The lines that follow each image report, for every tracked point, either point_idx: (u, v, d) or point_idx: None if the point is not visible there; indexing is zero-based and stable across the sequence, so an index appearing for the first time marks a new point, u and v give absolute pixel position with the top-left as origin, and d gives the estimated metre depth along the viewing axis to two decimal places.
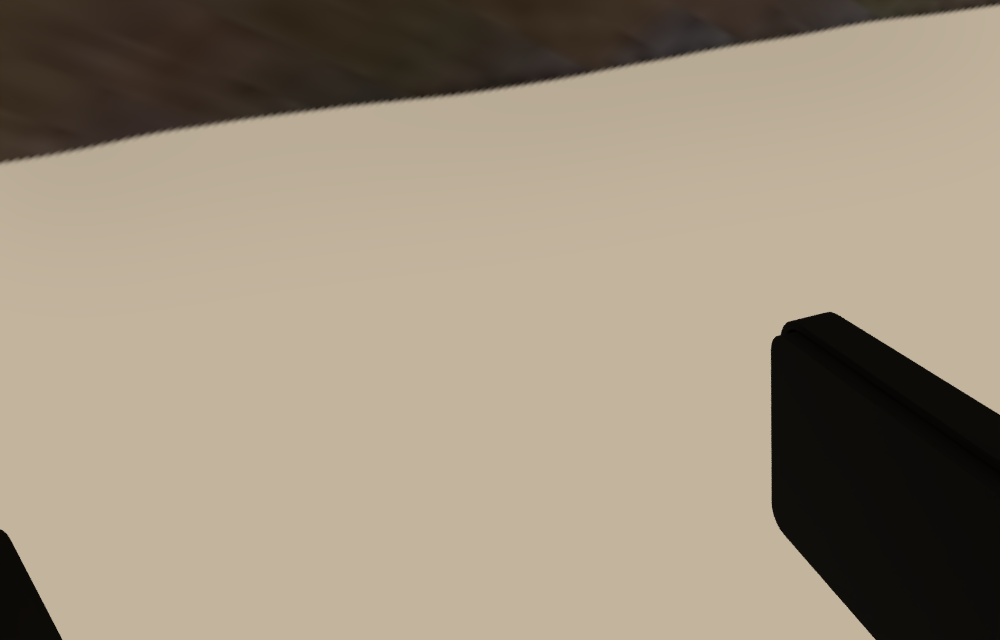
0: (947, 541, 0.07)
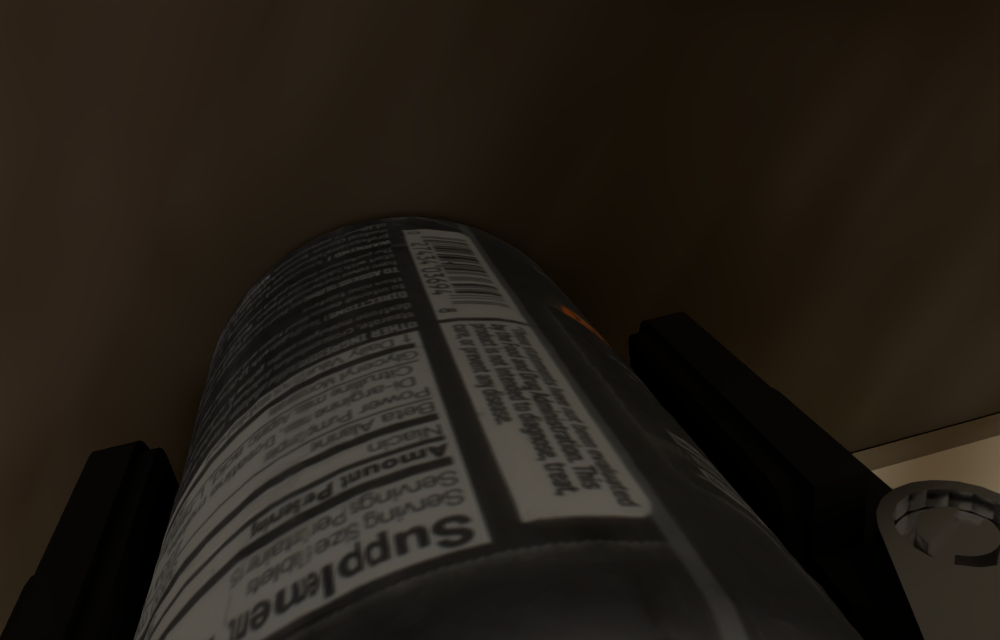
0: None
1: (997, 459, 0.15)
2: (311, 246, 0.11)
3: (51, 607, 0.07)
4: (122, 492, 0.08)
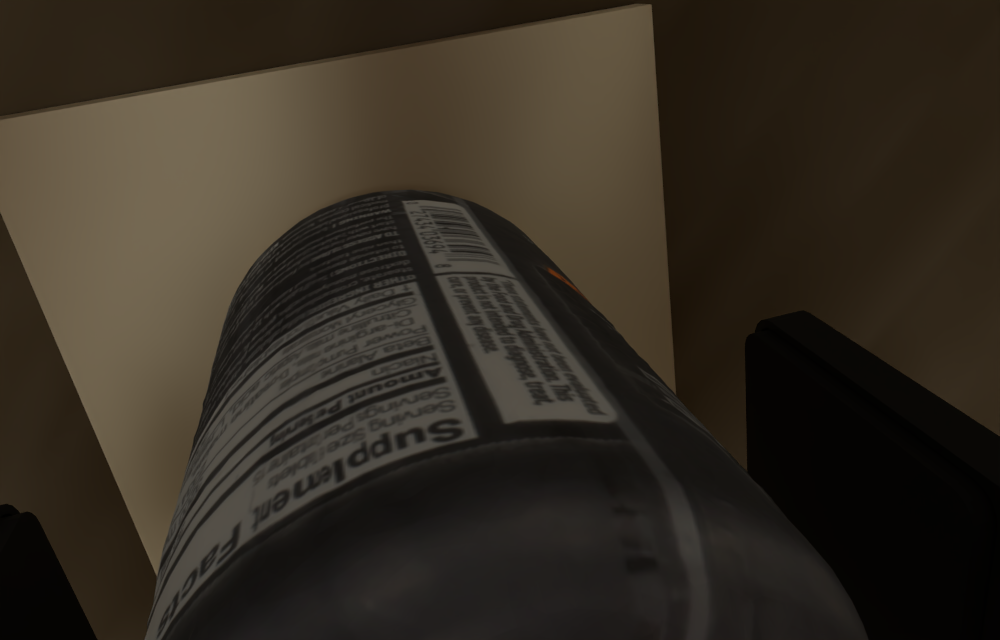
0: (909, 535, 0.07)
1: (494, 72, 0.12)
2: (317, 216, 0.12)
3: None
4: None
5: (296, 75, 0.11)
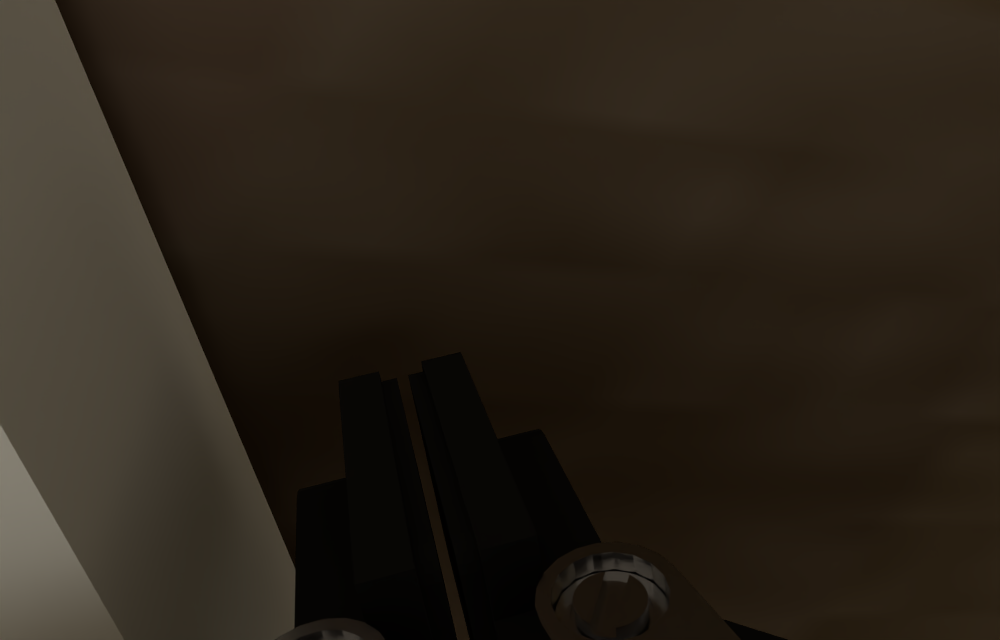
0: (459, 579, 0.08)
1: None
2: None
3: (379, 498, 0.07)
4: (387, 412, 0.09)
5: None
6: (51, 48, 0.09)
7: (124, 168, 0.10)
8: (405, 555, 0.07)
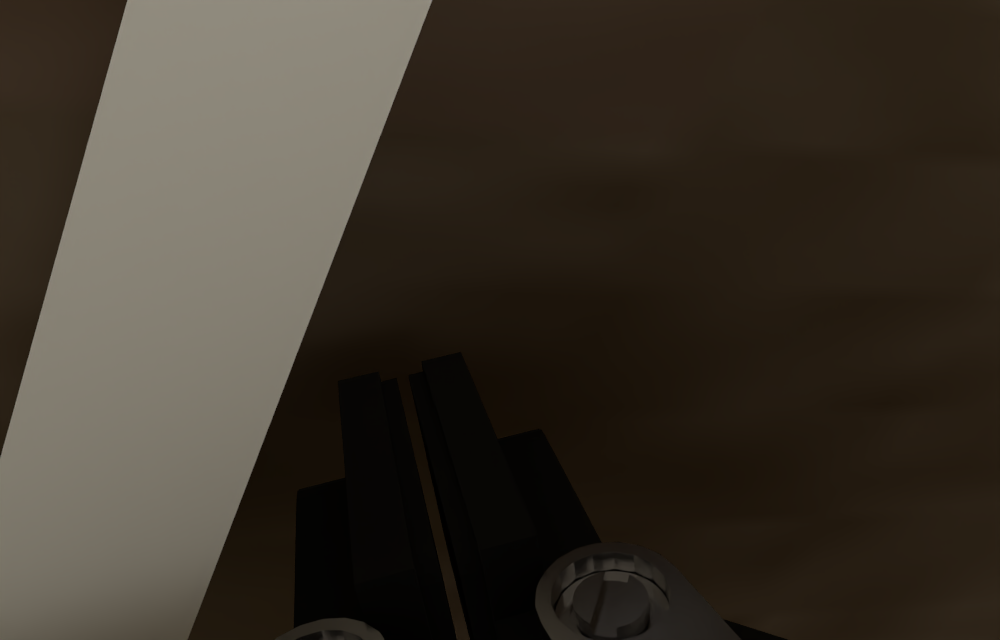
0: (459, 579, 0.08)
1: None
2: None
3: (379, 498, 0.07)
4: (386, 412, 0.09)
5: None
6: None
7: None
8: (405, 555, 0.07)
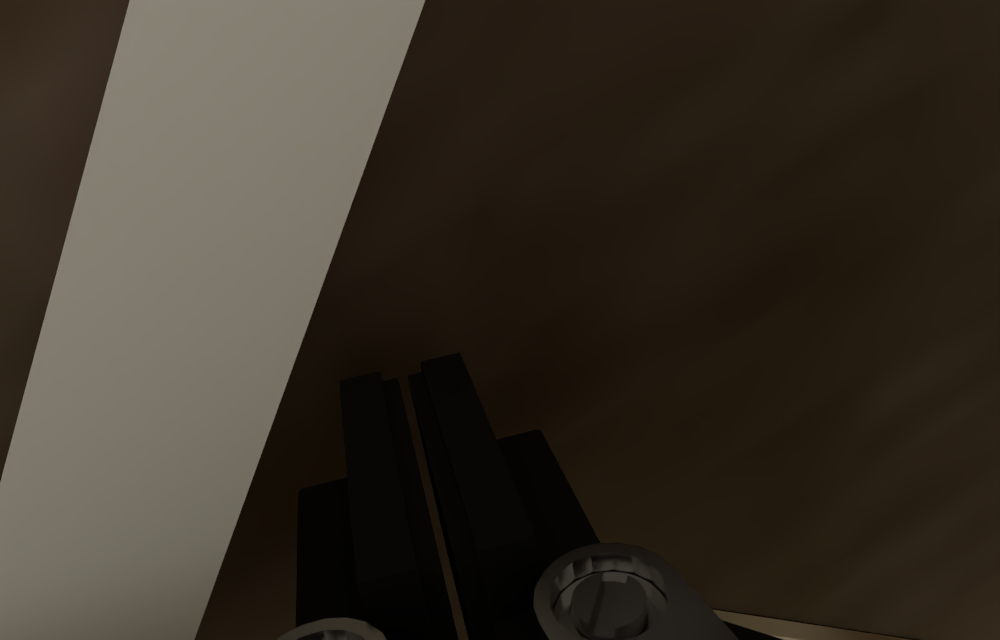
0: (457, 579, 0.08)
1: None
2: None
3: (380, 498, 0.07)
4: (388, 412, 0.09)
5: None
6: None
7: None
8: (407, 555, 0.07)
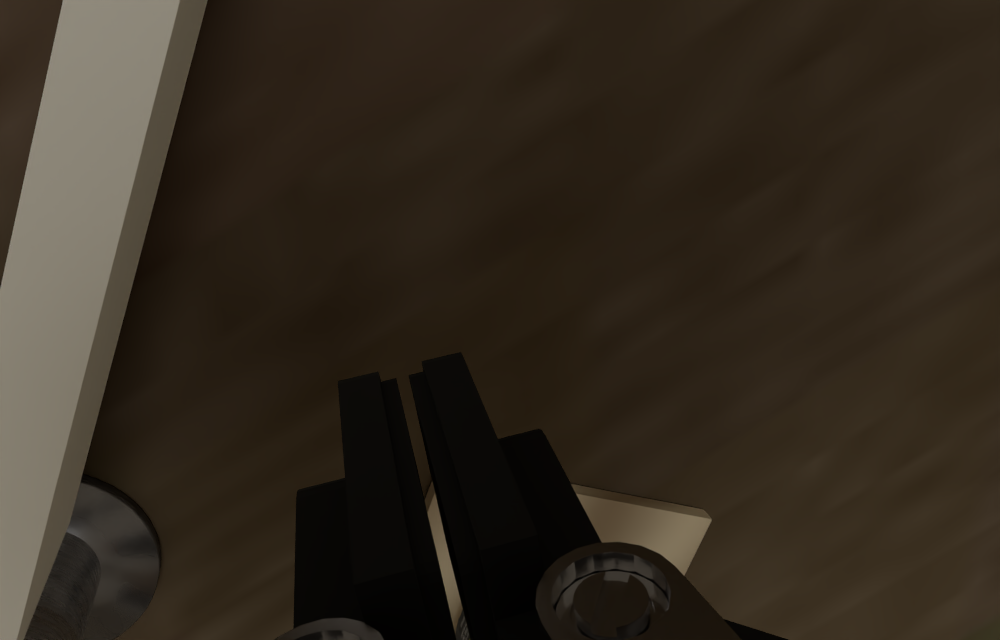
0: (459, 579, 0.08)
1: (643, 521, 0.27)
2: None
3: (378, 498, 0.07)
4: (386, 412, 0.09)
5: None
6: (189, 55, 0.16)
7: (175, 121, 0.18)
8: (404, 555, 0.07)
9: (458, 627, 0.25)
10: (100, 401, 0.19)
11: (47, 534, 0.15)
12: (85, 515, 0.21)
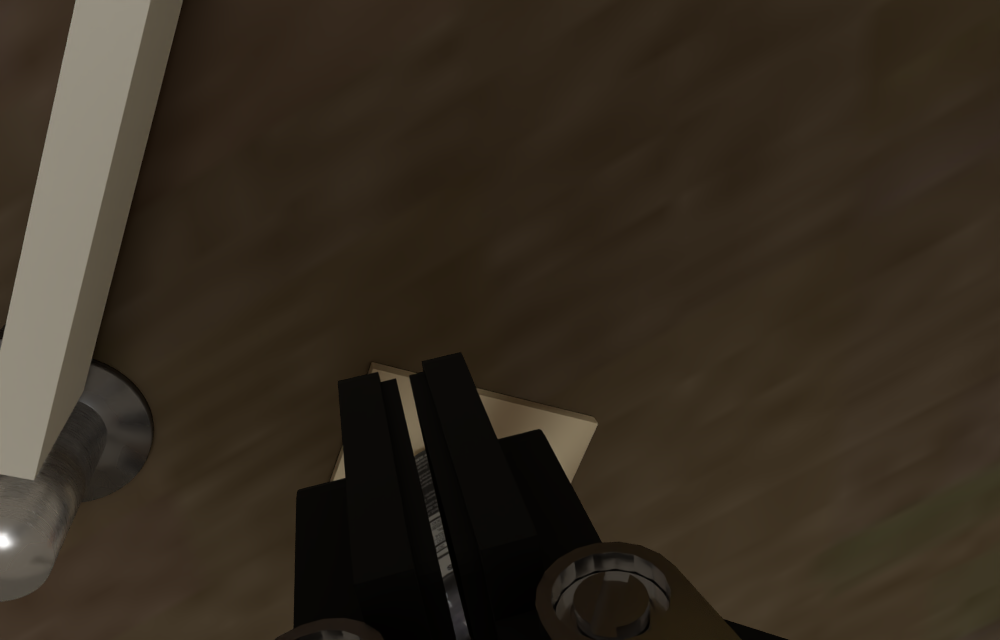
0: (459, 579, 0.08)
1: (538, 422, 0.33)
2: None
3: (378, 498, 0.07)
4: (386, 412, 0.09)
5: None
6: (167, 44, 0.23)
7: (159, 91, 0.24)
8: (404, 555, 0.07)
9: None
10: (105, 297, 0.26)
11: (63, 375, 0.22)
12: (95, 390, 0.28)
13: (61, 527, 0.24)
